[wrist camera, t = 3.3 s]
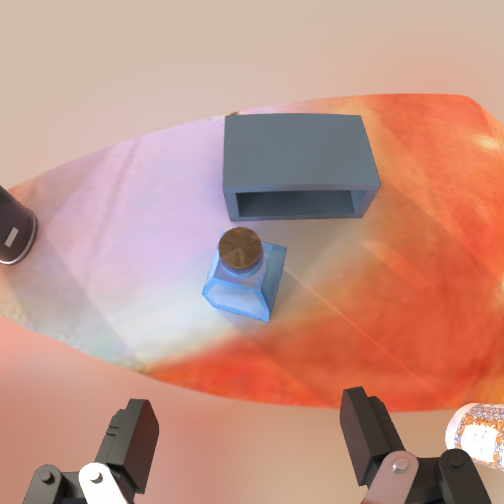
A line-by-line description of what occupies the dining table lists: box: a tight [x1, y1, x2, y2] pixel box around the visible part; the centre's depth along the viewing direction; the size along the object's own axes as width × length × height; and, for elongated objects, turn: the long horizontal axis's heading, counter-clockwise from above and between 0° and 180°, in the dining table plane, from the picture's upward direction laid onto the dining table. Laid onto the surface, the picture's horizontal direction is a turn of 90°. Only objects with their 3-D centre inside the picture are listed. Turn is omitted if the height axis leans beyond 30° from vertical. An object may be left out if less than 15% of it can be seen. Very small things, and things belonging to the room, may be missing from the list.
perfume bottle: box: [202, 227, 286, 322], centre depth 28 cm, size 6×6×12 cm
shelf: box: [222, 113, 381, 221], centre depth 35 cm, size 16×10×8 cm, turn 91°
